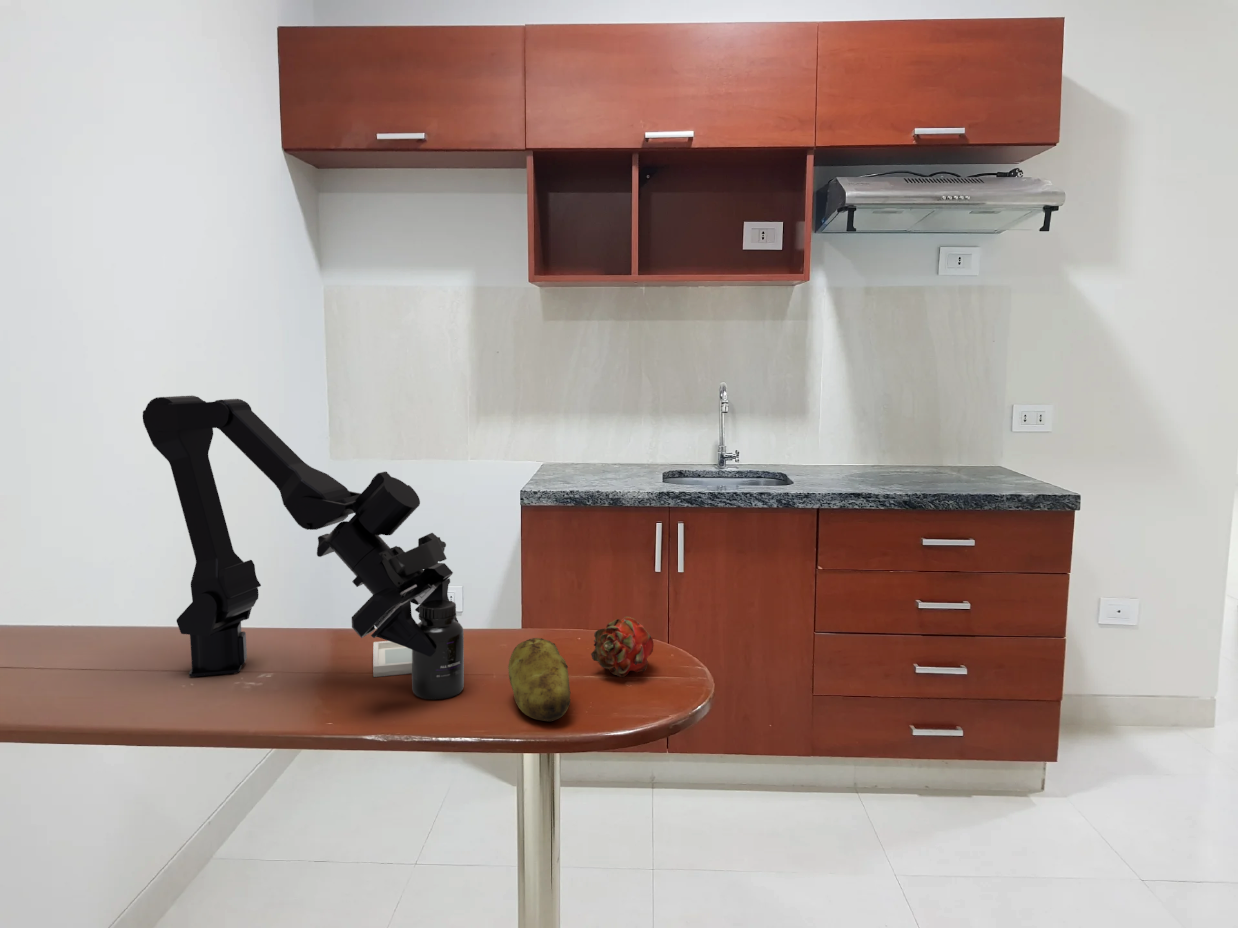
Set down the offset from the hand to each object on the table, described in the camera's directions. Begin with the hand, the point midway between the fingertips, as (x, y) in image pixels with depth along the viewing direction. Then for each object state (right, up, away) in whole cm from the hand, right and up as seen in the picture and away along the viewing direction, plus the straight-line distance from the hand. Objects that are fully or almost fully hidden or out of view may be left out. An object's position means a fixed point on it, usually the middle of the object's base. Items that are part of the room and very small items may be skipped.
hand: (447, 643), depth 113 cm
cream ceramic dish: (-8, -5, +13) cm, 16 cm away
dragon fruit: (+23, -6, +9) cm, 26 cm away
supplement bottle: (-1, -7, +1) cm, 7 cm away
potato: (+13, -7, -4) cm, 15 cm away
